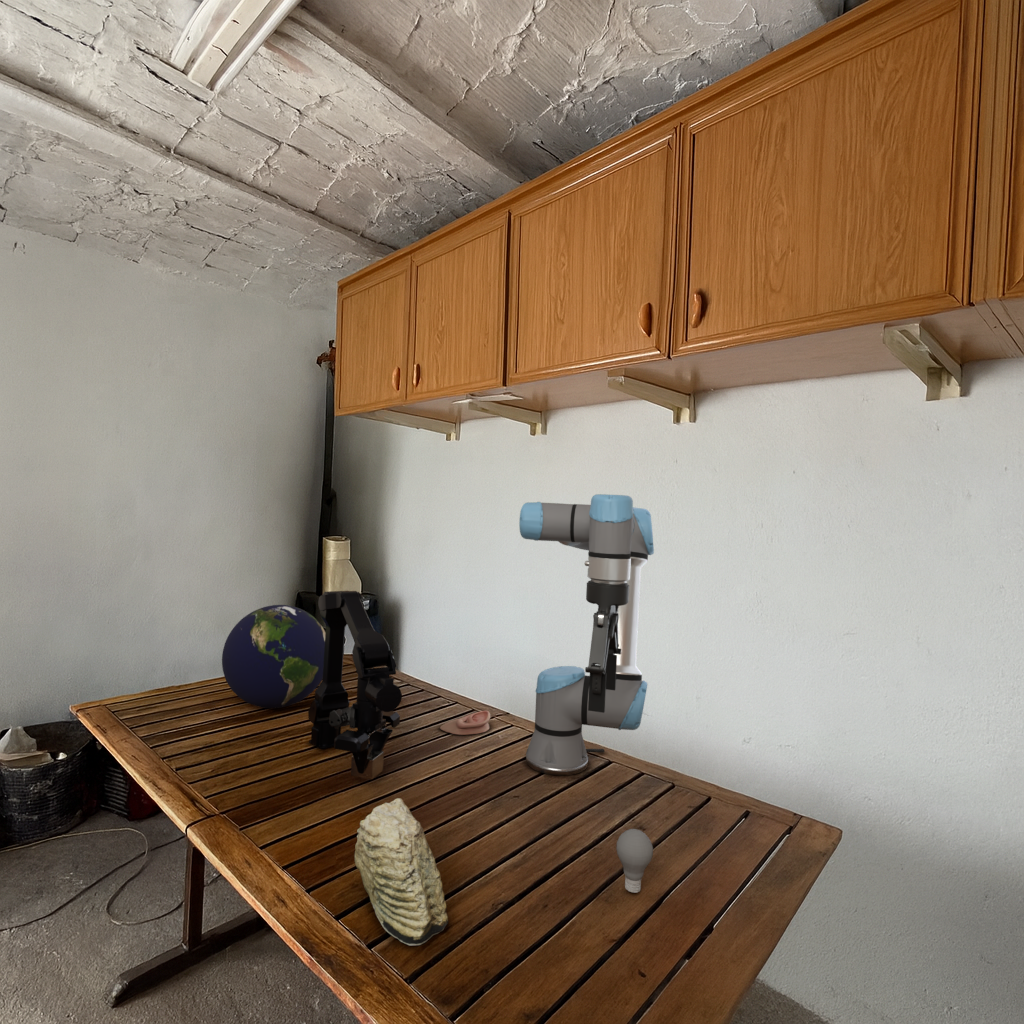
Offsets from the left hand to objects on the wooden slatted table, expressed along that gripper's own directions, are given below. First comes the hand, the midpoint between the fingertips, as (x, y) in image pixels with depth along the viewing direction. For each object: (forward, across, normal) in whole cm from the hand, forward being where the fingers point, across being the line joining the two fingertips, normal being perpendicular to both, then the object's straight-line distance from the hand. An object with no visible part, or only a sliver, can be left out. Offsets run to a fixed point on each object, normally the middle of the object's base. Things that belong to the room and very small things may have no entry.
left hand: (367, 768), depth 139 cm
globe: (+4, -36, -51) cm, 62 cm away
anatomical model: (+4, -42, +7) cm, 42 cm away
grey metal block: (+1, 0, 0) cm, 1 cm away
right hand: (-26, +11, +52) cm, 59 cm away
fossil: (+4, +35, +26) cm, 44 cm away
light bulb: (+4, +17, +60) cm, 62 cm away
